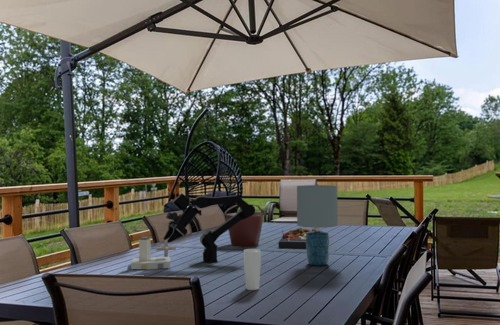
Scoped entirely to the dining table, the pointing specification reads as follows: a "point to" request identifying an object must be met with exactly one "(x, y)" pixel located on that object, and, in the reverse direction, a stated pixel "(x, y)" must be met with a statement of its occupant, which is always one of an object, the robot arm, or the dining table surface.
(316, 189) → the lamp
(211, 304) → the dining table surface
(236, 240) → the bucket
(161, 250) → the pipe connector
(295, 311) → the dining table surface
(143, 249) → the plug
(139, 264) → the socket panel
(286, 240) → the food platter
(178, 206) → the robot arm
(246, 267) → the drinking glass
